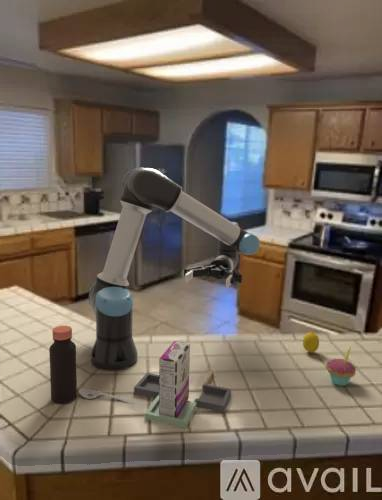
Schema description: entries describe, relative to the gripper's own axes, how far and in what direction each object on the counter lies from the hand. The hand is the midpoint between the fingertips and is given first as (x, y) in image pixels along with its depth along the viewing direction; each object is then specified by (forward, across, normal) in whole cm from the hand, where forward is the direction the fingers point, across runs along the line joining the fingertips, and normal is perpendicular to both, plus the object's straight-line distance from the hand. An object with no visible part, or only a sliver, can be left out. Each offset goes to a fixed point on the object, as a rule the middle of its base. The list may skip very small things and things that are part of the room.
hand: (206, 281), depth 127 cm
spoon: (+29, +17, -29) cm, 45 cm away
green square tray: (+29, 0, -28) cm, 40 cm away
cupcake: (-3, -43, -28) cm, 52 cm away
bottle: (+34, +30, -28) cm, 53 cm away
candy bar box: (+28, 0, -28) cm, 39 cm away
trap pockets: (+21, 0, -28) cm, 35 cm away
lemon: (-21, -34, -28) cm, 49 cm away
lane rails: (+11, 0, -28) cm, 30 cm away
